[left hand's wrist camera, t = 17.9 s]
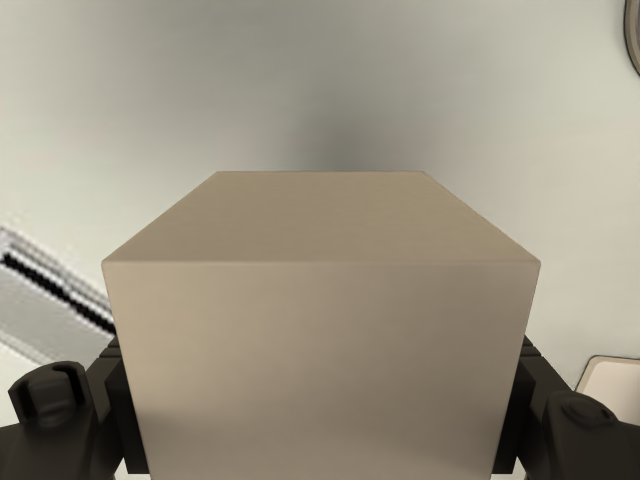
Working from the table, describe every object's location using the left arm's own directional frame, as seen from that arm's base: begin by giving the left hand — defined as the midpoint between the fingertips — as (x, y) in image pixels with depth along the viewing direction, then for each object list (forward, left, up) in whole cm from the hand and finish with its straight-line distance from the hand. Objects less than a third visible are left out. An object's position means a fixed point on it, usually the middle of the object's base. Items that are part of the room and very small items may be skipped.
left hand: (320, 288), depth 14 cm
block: (0, 0, -1) cm, 1 cm away
